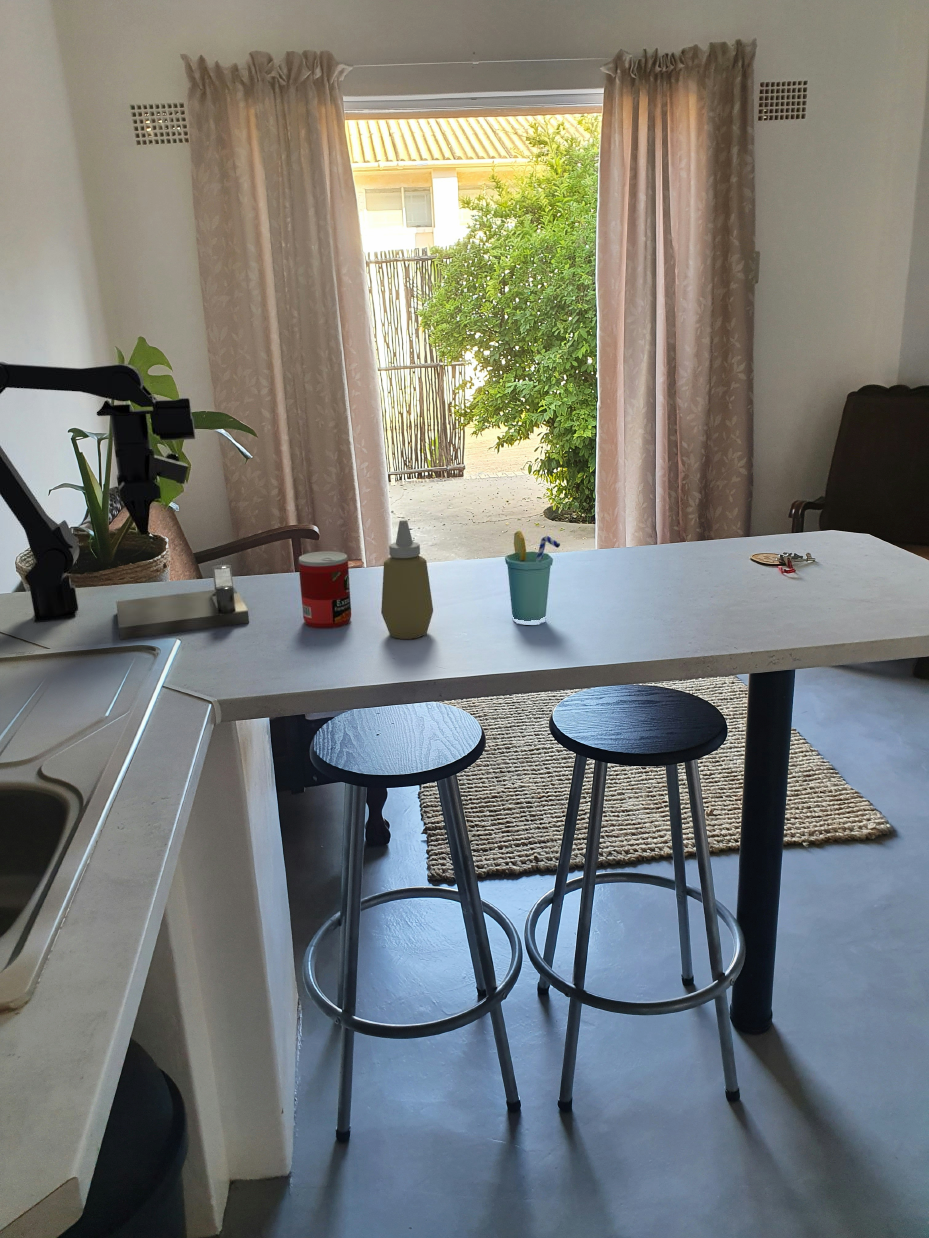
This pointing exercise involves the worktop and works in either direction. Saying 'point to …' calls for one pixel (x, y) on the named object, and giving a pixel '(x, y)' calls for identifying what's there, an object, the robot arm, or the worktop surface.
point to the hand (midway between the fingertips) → (144, 534)
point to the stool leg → (224, 589)
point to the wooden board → (175, 614)
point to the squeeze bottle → (406, 588)
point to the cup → (529, 579)
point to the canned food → (325, 589)
